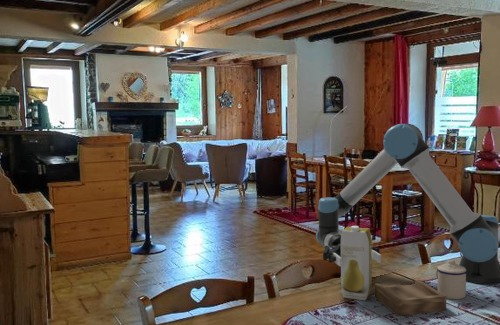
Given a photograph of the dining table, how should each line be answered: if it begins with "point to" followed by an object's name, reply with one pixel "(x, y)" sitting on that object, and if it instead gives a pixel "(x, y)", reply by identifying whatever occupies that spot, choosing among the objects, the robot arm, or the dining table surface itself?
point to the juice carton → (356, 262)
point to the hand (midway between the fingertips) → (360, 260)
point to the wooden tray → (410, 298)
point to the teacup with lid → (451, 280)
